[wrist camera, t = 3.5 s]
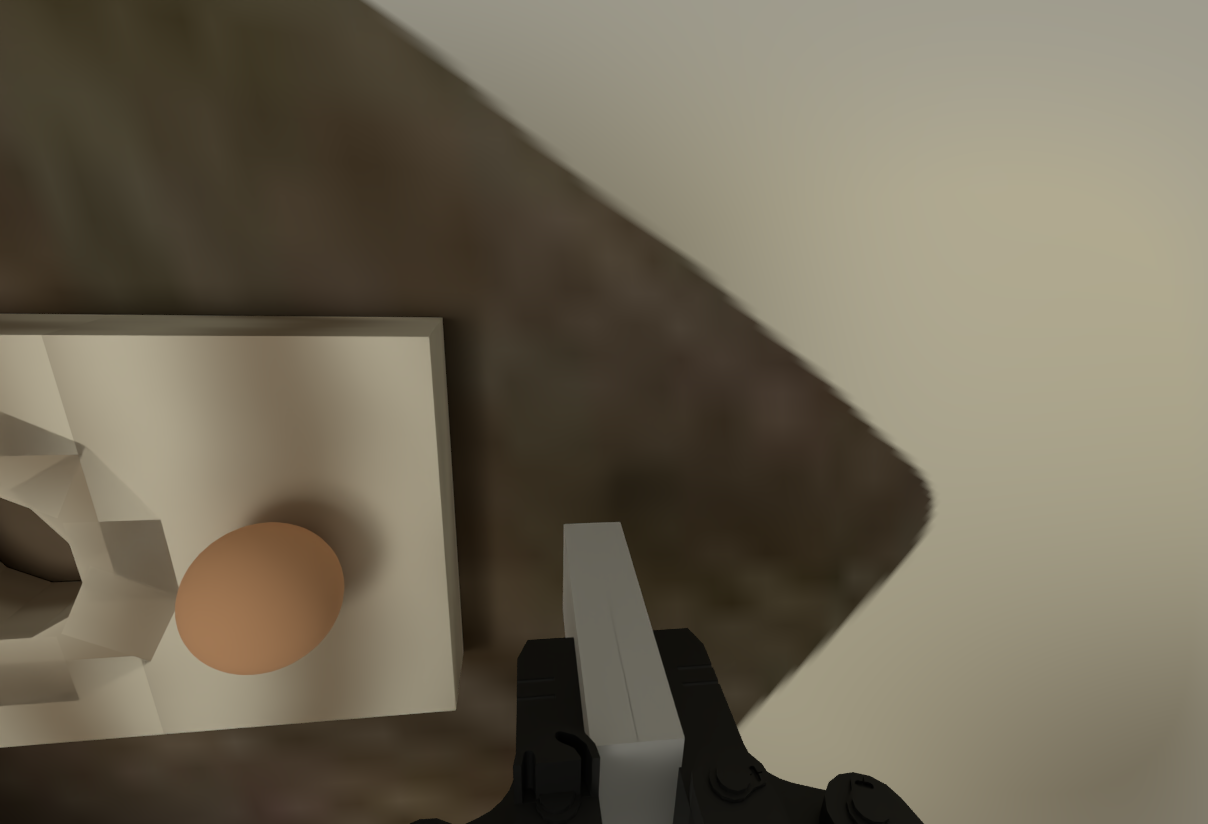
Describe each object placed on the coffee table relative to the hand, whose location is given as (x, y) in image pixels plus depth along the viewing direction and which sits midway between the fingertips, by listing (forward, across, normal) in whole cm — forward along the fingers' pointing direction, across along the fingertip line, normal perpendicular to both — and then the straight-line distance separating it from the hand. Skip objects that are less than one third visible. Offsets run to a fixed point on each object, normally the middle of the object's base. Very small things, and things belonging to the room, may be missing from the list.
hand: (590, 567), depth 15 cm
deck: (+4, -12, 0) cm, 13 cm away
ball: (0, -8, 0) cm, 8 cm away
